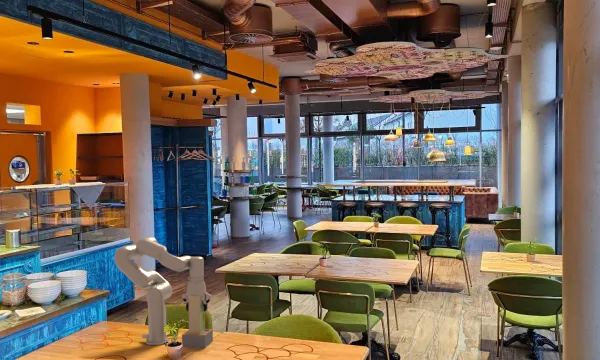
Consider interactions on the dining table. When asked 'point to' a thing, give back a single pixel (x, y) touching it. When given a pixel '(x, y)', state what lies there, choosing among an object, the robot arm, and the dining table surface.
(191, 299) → the toy refrigerator
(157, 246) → the robot arm
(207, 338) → the grey open box
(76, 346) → the dining table surface
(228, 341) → the dining table surface
